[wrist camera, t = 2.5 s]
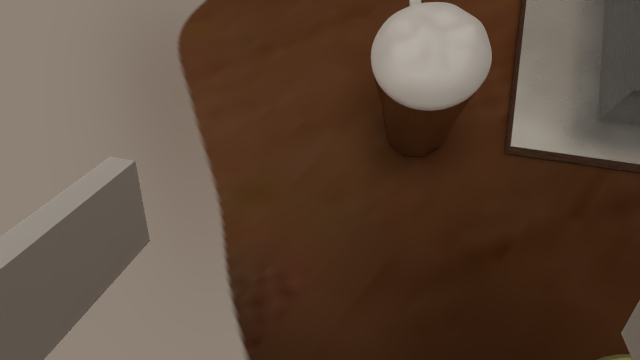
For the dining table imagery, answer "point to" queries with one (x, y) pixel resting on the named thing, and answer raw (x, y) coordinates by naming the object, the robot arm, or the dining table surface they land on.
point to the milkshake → (427, 72)
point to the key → (617, 357)
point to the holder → (577, 83)
